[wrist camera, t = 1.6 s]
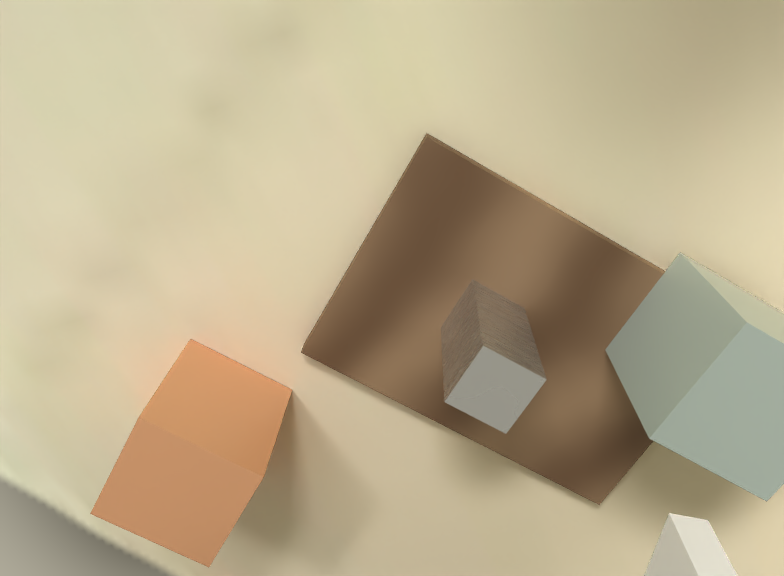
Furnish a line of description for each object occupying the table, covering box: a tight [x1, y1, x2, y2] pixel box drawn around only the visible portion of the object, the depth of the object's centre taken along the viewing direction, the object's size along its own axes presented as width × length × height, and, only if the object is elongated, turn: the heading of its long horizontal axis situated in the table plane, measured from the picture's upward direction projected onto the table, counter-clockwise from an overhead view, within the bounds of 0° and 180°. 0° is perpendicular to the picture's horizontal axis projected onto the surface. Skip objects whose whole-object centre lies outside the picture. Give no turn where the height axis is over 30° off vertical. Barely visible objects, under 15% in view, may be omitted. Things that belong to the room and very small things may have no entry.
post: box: [441, 279, 547, 434], centre depth 29 cm, size 3×3×6 cm
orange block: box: [90, 339, 292, 567], centre depth 32 cm, size 5×5×7 cm
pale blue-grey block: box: [605, 253, 784, 501], centre depth 28 cm, size 5×5×7 cm
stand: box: [301, 134, 665, 505], centre depth 32 cm, size 16×11×1 cm
